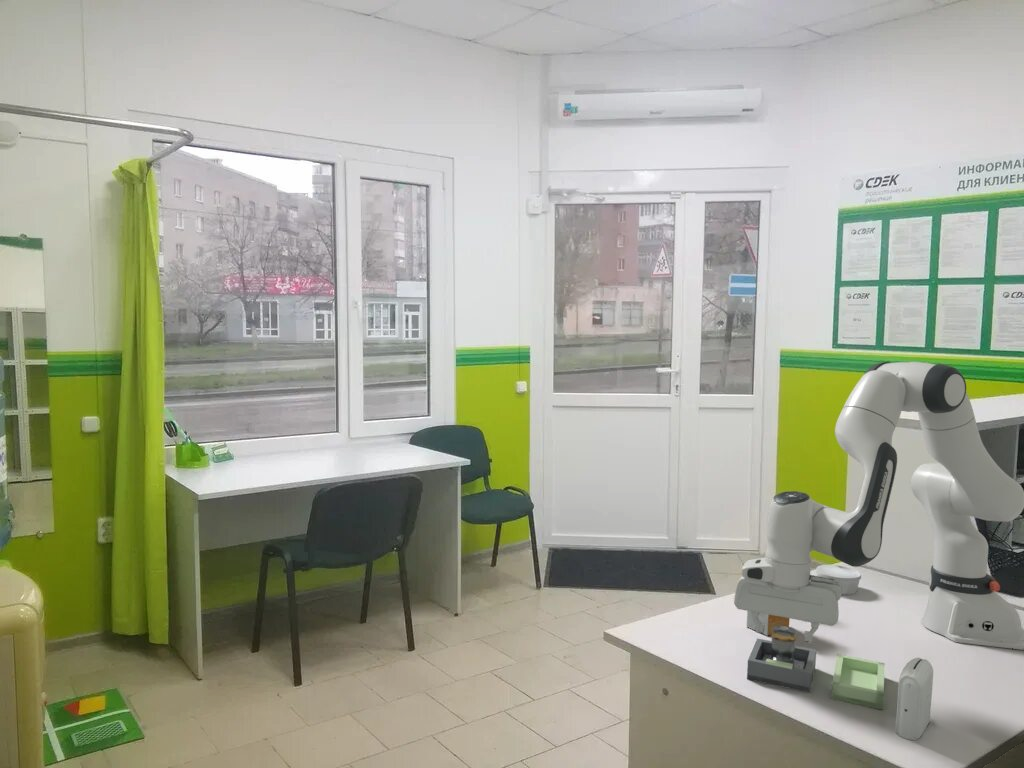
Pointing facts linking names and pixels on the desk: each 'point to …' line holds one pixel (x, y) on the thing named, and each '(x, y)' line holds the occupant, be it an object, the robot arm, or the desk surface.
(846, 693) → the green trough
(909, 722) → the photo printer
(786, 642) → the grey cell
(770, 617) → the small box
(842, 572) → the ramekin
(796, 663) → the pan
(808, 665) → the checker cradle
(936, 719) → the desk surface
